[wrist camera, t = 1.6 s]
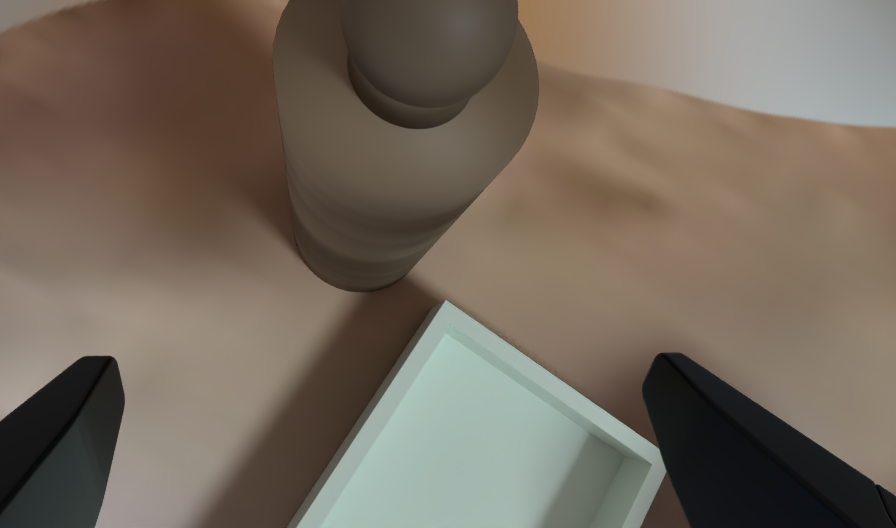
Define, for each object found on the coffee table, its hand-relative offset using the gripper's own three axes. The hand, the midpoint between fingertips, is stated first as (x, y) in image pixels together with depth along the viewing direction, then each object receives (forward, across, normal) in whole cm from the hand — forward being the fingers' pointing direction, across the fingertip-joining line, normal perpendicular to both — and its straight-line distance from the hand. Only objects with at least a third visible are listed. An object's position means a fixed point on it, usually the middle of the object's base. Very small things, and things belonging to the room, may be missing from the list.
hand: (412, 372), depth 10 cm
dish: (+4, -3, +13) cm, 14 cm away
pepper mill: (+12, 0, +5) cm, 13 cm away
